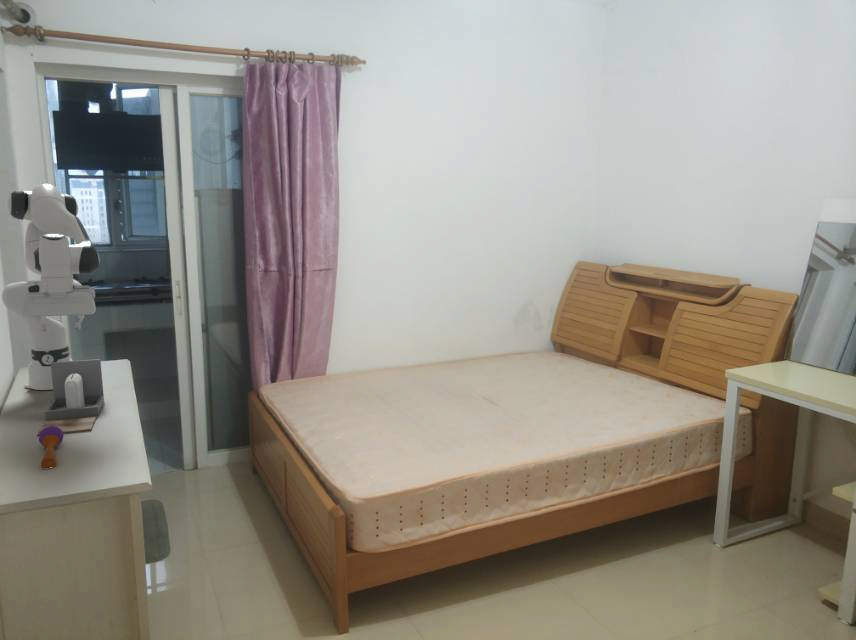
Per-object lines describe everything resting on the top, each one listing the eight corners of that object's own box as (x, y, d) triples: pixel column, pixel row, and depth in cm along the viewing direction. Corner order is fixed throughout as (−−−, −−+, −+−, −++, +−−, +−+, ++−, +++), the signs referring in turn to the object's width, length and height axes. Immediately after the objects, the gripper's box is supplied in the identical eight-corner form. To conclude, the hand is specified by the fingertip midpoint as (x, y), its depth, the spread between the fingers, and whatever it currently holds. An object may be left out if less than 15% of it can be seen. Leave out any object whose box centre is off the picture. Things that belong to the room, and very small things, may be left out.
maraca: (31, 457, 162) (36, 426, 180) (39, 477, 164) (43, 445, 182) (57, 449, 165) (60, 420, 182) (65, 469, 167) (66, 438, 184)
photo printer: (71, 407, 213) (67, 371, 211) (85, 406, 215) (82, 370, 212) (66, 417, 204) (62, 379, 201) (81, 415, 205) (77, 378, 203)
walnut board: (46, 422, 199) (46, 420, 199) (96, 417, 204) (96, 415, 204) (37, 436, 187) (37, 434, 187) (91, 430, 192) (90, 428, 192)
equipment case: (55, 406, 214) (51, 362, 211) (104, 401, 219) (100, 359, 216) (46, 420, 200) (41, 374, 197) (98, 415, 205) (94, 370, 202)
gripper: (96, 284, 208) (99, 326, 210) (23, 286, 202) (27, 330, 203) (93, 285, 202) (96, 329, 204) (18, 288, 196) (22, 333, 197)
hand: (61, 329), depth 204 cm, fingers open, 8 cm apart
